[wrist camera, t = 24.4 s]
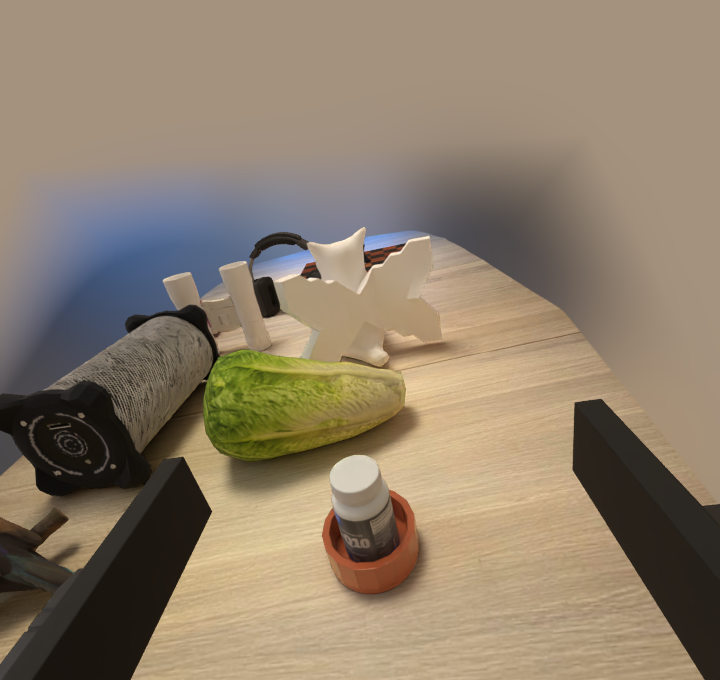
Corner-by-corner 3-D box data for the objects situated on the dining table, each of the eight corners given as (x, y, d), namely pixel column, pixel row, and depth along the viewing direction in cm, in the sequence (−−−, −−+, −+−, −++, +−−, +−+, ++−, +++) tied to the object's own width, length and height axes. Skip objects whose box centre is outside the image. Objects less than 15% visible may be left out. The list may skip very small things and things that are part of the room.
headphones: (254, 319, 98) (228, 243, 90) (264, 310, 104) (240, 238, 96) (334, 309, 93) (314, 227, 85) (340, 300, 98) (321, 223, 90)
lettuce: (397, 401, 57) (414, 479, 44) (235, 410, 56) (205, 491, 43) (399, 318, 50) (420, 381, 37) (215, 326, 49) (171, 394, 36)
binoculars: (275, 339, 82) (249, 259, 75) (269, 350, 77) (241, 265, 70) (203, 352, 84) (170, 275, 77) (192, 363, 79) (157, 282, 72)
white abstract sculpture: (394, 315, 81) (376, 214, 72) (454, 347, 62) (439, 217, 54) (283, 355, 74) (249, 248, 65) (314, 404, 55) (272, 265, 47)
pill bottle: (335, 551, 33) (311, 479, 29) (370, 512, 35) (352, 443, 32) (377, 582, 29) (355, 506, 26) (411, 537, 32) (395, 463, 29)
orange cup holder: (431, 523, 34) (427, 499, 32) (398, 610, 28) (391, 584, 26) (356, 501, 38) (350, 479, 36) (313, 573, 32) (304, 550, 30)
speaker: (41, 505, 47) (-34, 407, 41) (163, 384, 73) (128, 313, 67) (148, 493, 45) (86, 388, 39) (234, 373, 71) (205, 299, 65)
